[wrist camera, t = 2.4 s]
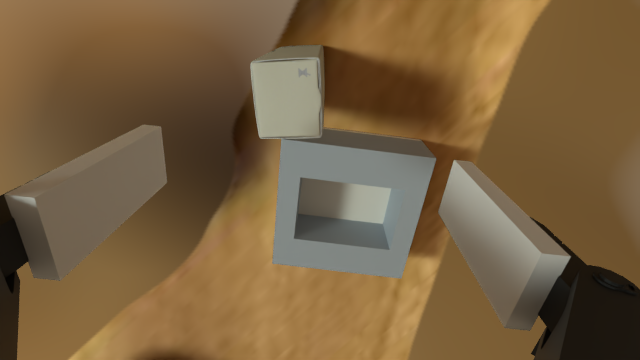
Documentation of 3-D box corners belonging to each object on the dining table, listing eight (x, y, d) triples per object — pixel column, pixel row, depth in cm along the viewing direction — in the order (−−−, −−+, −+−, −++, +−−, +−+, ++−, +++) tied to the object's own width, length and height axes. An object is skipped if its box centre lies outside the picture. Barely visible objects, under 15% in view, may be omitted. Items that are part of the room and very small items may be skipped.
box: (278, 46, 30) (246, 54, 19) (324, 44, 30) (321, 52, 19) (283, 102, 33) (256, 140, 21) (326, 101, 32) (323, 139, 21)
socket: (280, 233, 39) (272, 263, 34) (289, 122, 34) (281, 138, 28) (392, 247, 40) (401, 278, 35) (420, 139, 34) (436, 158, 29)
